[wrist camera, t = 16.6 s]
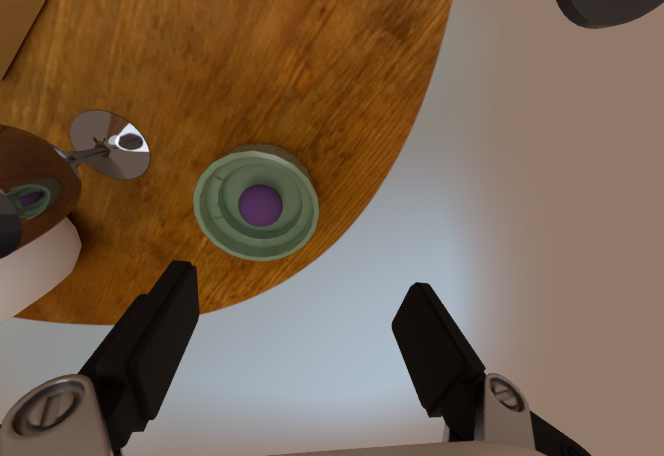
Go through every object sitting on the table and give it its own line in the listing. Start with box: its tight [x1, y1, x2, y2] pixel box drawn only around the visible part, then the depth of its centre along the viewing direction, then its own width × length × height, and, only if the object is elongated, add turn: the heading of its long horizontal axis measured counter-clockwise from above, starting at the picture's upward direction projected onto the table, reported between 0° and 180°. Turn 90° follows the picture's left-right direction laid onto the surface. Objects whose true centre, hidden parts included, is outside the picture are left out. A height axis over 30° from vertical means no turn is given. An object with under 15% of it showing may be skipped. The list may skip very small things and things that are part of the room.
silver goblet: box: [0, 110, 150, 259], centre depth 19 cm, size 8×8×15 cm
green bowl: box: [193, 143, 319, 261], centre depth 28 cm, size 13×13×5 cm
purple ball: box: [238, 184, 283, 227], centre depth 28 cm, size 5×5×5 cm
